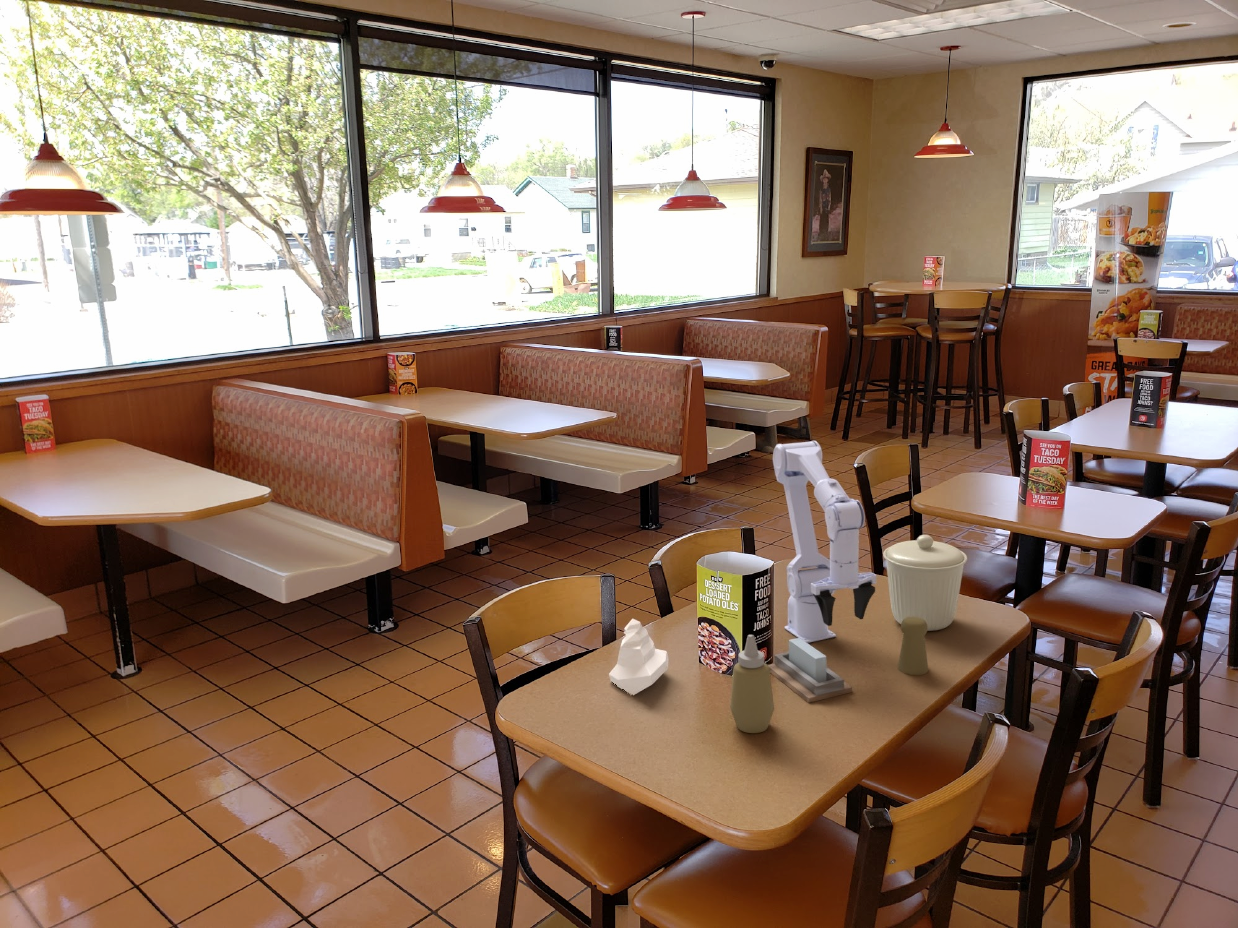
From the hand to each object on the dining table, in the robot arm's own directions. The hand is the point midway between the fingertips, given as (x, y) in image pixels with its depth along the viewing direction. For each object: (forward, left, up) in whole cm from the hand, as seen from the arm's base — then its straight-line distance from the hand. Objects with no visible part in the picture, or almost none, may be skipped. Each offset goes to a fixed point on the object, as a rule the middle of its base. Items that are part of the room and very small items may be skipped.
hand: (843, 620), depth 190 cm
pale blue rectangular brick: (+3, -11, -9) cm, 14 cm away
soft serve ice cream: (-12, -42, -10) cm, 44 cm away
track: (+3, -10, -10) cm, 15 cm away
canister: (-10, +28, -10) cm, 32 cm away
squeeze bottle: (+14, -29, -10) cm, 34 cm away
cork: (+8, +11, -10) cm, 17 cm away
